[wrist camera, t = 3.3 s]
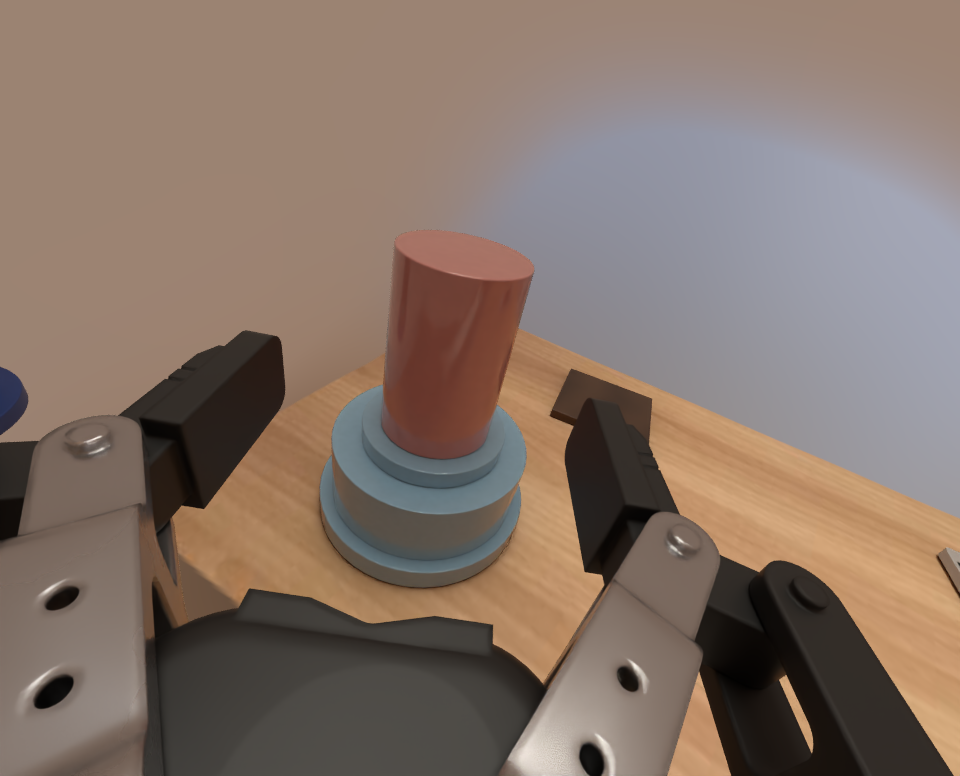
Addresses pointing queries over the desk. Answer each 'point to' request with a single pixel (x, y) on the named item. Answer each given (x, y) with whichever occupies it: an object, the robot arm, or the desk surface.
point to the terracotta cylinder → (449, 339)
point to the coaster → (587, 386)
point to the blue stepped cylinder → (418, 500)
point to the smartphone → (951, 564)
